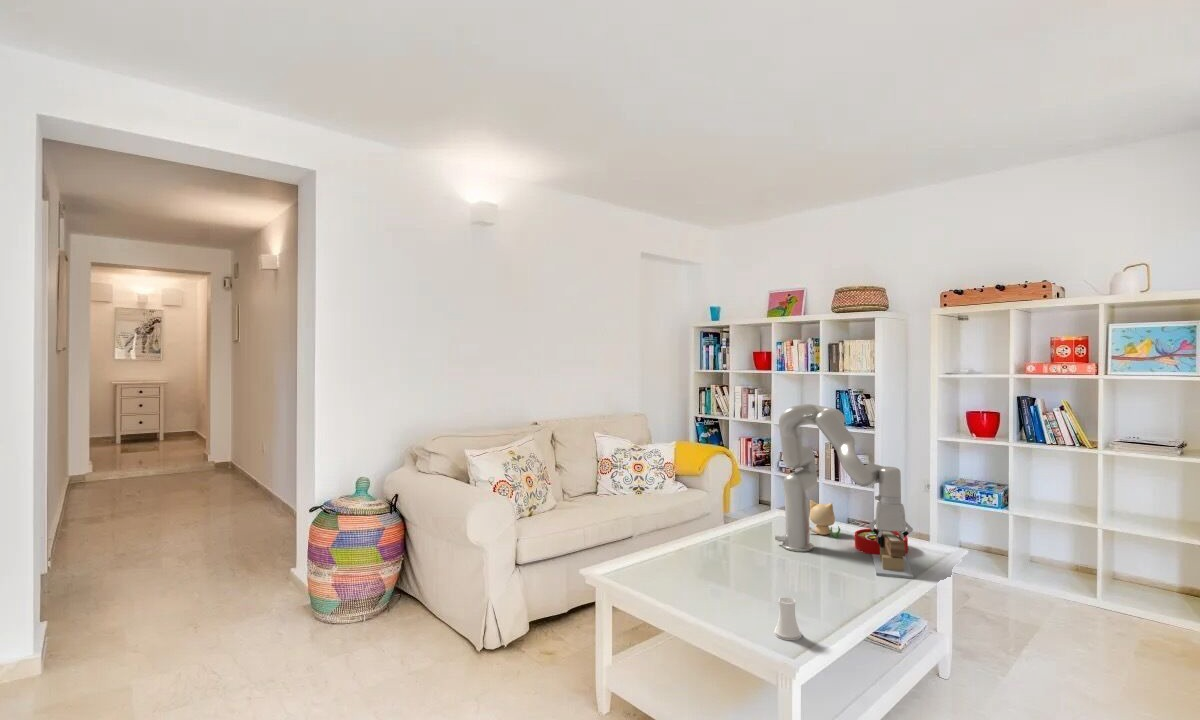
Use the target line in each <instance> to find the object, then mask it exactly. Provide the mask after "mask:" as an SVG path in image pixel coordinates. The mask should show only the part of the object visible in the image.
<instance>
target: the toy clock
mask: <svg viewBox="0 0 1200 720" xmlns="http://www.w3.org/2000/svg"><path fill="white" fill-rule="evenodd" d="M876 529H877V528H876ZM877 530H878V529H877ZM892 532H893V531H892ZM893 533H894V534H895V535H896V536H898V537H899V536H900V535H899V532H893ZM908 539H909V537H908V535H907V536H906V537H905V538H904V539H903V542H905V555H907V554H908V552H909V551H908V550H909V546H908V545H909V542H908ZM854 548H855V549H856V550H857V551H859V552H862V553H864V554H868V555H871V556H872V554H876V555H880V545H878V543H877V535H876V534H875V533H874V532H873V531H872V530H871V529H870V528H861V529H857V530H855V532H854Z"/></svg>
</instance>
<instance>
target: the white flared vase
mask: <svg viewBox="0 0 1200 720" xmlns="http://www.w3.org/2000/svg"><path fill="white" fill-rule="evenodd" d="M796 602H797V601H796V599H794V598H792V597H788V596H787V597H786V596H783V597H778V608H779V610H778V611H779V612H778V613H779V614H778V621H777V623H776V627H775V628H774V629H773V632H774V633H773V634H774V635H775V636H776V637H777V638H779V639H781V640H784V641H785V640H786V641H797V640H799V639H801V638H802V631H801V630H800V628H799V626H798V622H797V616H796V604H797V603H796Z"/></svg>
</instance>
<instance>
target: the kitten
mask: <svg viewBox="0 0 1200 720" xmlns="http://www.w3.org/2000/svg"><path fill="white" fill-rule="evenodd" d="M809 521H811V523H813V524H815V527H814V528H812V527H811V526H809V532H810V533H811V532H812V533H814V534H818V535H822V536H826V535H829V534H831V535H832V536H833V537H832V538H839V537H840V532H841V527H840V526H839V525H838V526H837V529H838V530H837V533H836V534H835V533H834V532H833V526H832V525H834V523H835V522H836V516H835V513H834V506H833V503H832V502H830V503H827V504H825V503H817V502H815V500H813V499H810V500H809ZM829 526H831V527H829Z"/></svg>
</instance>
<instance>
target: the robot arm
mask: <svg viewBox="0 0 1200 720" xmlns="http://www.w3.org/2000/svg"><path fill="white" fill-rule="evenodd" d="M845 421H846V418H845V415H844V413H843V412H842V411H840V410H839V409H838V408H832V407H828V406H821V405H817V404H813V403H812V404H811V403H806V404H799V405H794V406H790V407H789V408H788V407H787V409H785V410H784V411H783V412H782V413H781V414H780V416H779V418H778V429H779V436H780V444H781V453H782V462H783V464H784V466H785V467H786V468H787V469H790V470H794V471H793V472H790V473H788V474H787V475H786V476H785V477H784V479H783V482H782V491H783V495H784V506H785V507H784V509H785V511H784V512H785V534H784V535H775V536H774V540H775V541H777V542H782V544H781V546H782V548H784V549H786V550H788V551H792V552H803V553H804V552H810V551H813V550H814V544H813V543H811V541H810V540H811V539H810V536H811V535H810V530H809V527H810V502H809V500H808V496H807V493H810V492H811V491H813V490H814V489H815V488H816V487H817V484H818V473H817V464H816V457H815V453H814V451H813V449H812V448H811V447H810V446H809V445H807V444H803V438H802V433H801V431H800V429H799V428H800V427H801V426H805V425H815V426H817V427H818V429H819V430H820V432H821V433H822V434H823V435H824V436H825V438H826V439H827V441H828V442H829V443H830V444H831V446H832V447H833V448H834V450H835V451H836V454H837V458H838V460H839V462H840V465H841V467H842V468H843V469H844V471H845V473H846V474H847V475H848V476H849V478H850V479H851V481H853V482H854V483H855V484H856V485H858V486H860V487H864V488H865V487H869V486H871V485H874V484H878V495H875V496H874V500H876V501H878V502H876V507H875V508H876V509H875V518H874V520H872V521H871V522H870V523H869V524H868V526H867V527H868V529H871V530H872V531H873V532H874V533H875V534H876V535H877V536H878V545H880V547H881V548H883V537H882V533H883V531H893V532H899V535H900V536H899V538H900V539H901V540H902V541H903V539H904V538H905V537H906V536H907V537H908V535H909V534H910V533H912V532H913V531H914V529H913V527H912V526H911V525H910V524H909V523H908V522H907V521H906V512H905V511H906V510H905V507H904V504H903V503H902V484H901V483H902V482H901V481H902V480H901V478H902V477H901V470H900V468H898V467H894V466H883V465H880V464H875V463H867V464H864V463H863V462H862V460H861V459H860V458H859V456H858V454H857V452H856V448H855V445H856V440H855V436H853V435H852V433H851V432H850V431H849V430H848V429H847V427H846V426H845ZM874 526H875V527H874ZM877 529H878V530H877Z"/></svg>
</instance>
